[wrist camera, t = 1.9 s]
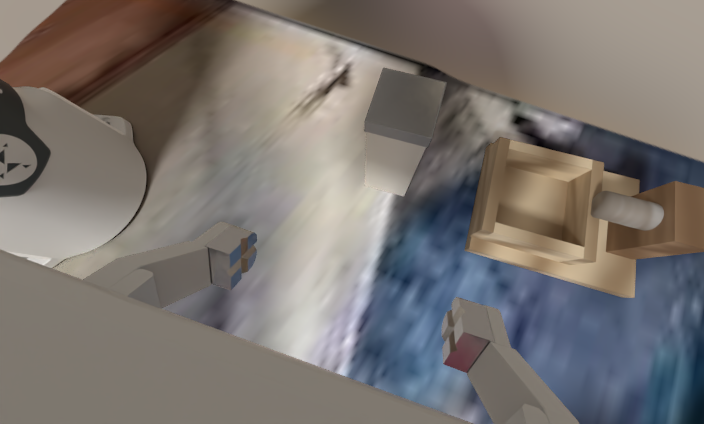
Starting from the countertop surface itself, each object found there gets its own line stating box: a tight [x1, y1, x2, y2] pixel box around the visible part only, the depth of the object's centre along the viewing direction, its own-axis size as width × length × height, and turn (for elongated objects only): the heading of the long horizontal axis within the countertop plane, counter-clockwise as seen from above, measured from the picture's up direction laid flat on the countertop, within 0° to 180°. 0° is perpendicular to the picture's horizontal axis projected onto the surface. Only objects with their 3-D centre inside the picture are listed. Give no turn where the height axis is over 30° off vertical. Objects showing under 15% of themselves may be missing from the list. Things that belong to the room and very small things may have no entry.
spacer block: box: [364, 68, 447, 197], centre depth 25 cm, size 5×5×12 cm
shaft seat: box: [465, 137, 704, 298], centre depth 25 cm, size 15×12×7 cm
